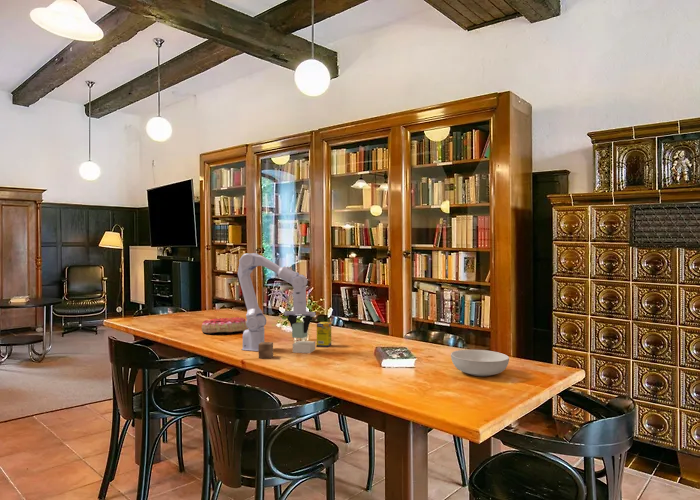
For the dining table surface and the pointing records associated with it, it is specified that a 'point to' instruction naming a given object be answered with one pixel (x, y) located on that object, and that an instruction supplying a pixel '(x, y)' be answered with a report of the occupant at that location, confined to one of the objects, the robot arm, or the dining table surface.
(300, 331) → the green block
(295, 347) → the grey block
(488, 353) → the serving bowl
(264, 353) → the walnut block
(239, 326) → the cake
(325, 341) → the supplement box
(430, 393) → the dining table surface
